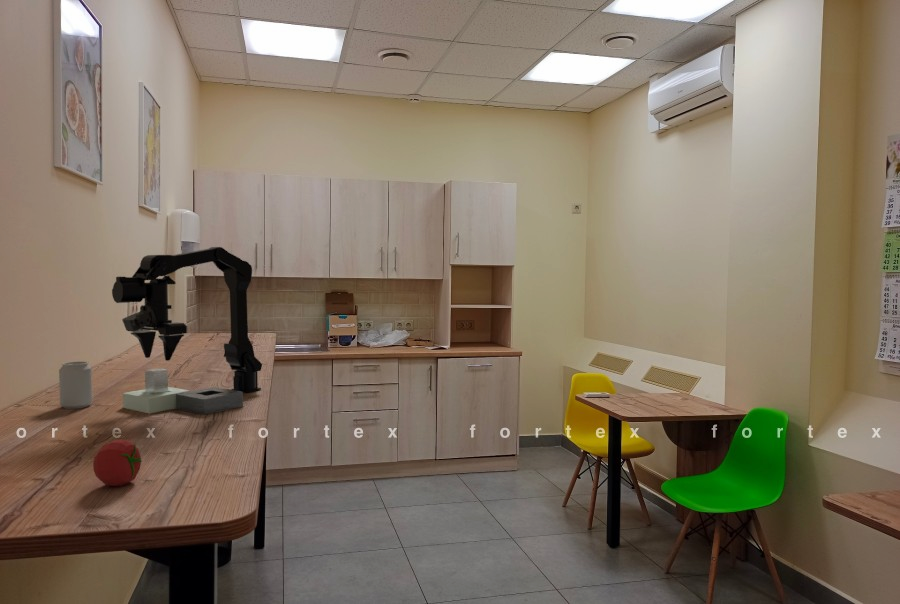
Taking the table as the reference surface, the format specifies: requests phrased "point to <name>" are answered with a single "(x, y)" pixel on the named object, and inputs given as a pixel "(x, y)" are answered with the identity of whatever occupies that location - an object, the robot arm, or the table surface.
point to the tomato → (117, 463)
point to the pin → (156, 381)
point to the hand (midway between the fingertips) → (157, 359)
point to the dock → (151, 400)
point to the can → (75, 385)
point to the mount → (209, 400)
